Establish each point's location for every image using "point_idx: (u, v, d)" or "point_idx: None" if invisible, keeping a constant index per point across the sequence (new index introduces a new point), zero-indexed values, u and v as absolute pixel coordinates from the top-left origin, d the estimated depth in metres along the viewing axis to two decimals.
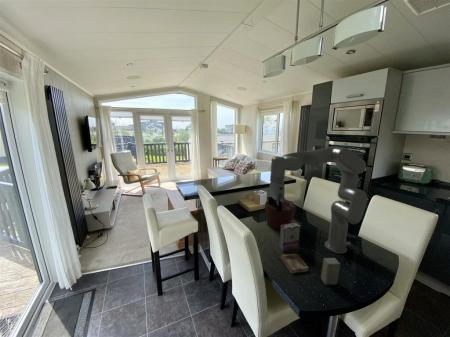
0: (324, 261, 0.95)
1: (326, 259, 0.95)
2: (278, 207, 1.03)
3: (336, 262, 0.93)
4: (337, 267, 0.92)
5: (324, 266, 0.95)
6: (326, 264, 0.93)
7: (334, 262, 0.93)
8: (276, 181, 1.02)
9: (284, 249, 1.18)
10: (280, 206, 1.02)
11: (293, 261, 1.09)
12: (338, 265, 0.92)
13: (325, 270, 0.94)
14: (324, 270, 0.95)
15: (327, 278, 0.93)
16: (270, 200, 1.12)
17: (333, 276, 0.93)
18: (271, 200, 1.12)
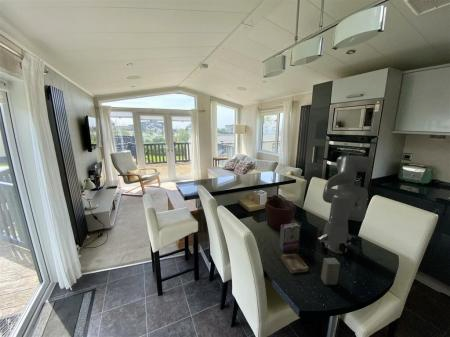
0: (324, 261, 0.95)
1: (326, 259, 0.95)
2: None
3: (336, 262, 0.93)
4: (337, 267, 0.92)
5: (324, 266, 0.95)
6: (326, 264, 0.93)
7: (334, 262, 0.93)
8: None
9: (284, 249, 1.18)
10: None
11: (293, 261, 1.09)
12: (338, 265, 0.92)
13: (325, 270, 0.94)
14: (324, 270, 0.95)
15: (327, 278, 0.93)
16: None
17: (333, 276, 0.93)
18: None
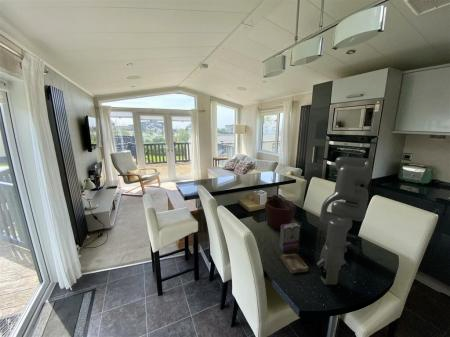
0: None
1: None
2: None
3: None
4: (337, 267, 0.92)
5: (324, 266, 0.95)
6: None
7: None
8: None
9: (284, 249, 1.18)
10: None
11: (293, 261, 1.09)
12: (338, 265, 0.92)
13: None
14: None
15: (327, 278, 0.93)
16: None
17: (333, 275, 0.93)
18: None
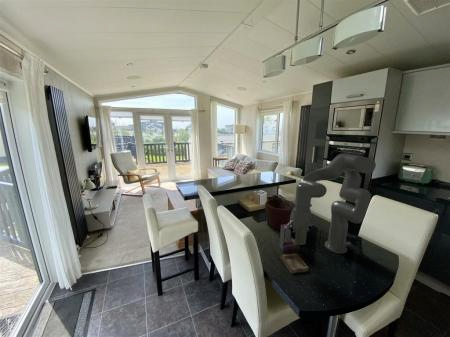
0: None
1: None
2: (307, 233, 1.03)
3: None
4: (305, 228, 1.00)
5: None
6: None
7: None
8: (309, 208, 0.98)
9: (284, 249, 1.18)
10: None
11: (293, 261, 1.09)
12: (306, 226, 1.00)
13: None
14: None
15: (296, 239, 1.01)
16: None
17: (301, 236, 1.01)
18: None
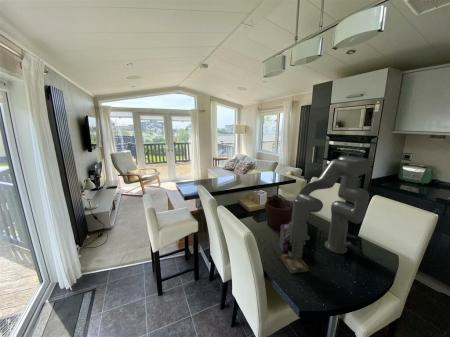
0: None
1: None
2: (303, 246, 1.05)
3: None
4: (301, 241, 1.02)
5: (290, 241, 1.05)
6: None
7: None
8: (306, 223, 1.01)
9: (284, 249, 1.18)
10: None
11: (293, 261, 1.09)
12: (302, 239, 1.02)
13: None
14: None
15: (293, 252, 1.03)
16: None
17: (298, 249, 1.03)
18: None
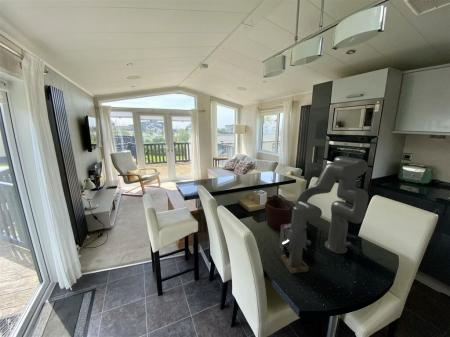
0: None
1: None
2: None
3: None
4: (300, 250, 1.04)
5: (290, 250, 1.06)
6: None
7: None
8: (305, 230, 1.02)
9: (284, 249, 1.18)
10: None
11: None
12: (301, 248, 1.03)
13: (290, 253, 1.05)
14: (290, 253, 1.06)
15: (292, 260, 1.05)
16: None
17: (297, 258, 1.05)
18: None
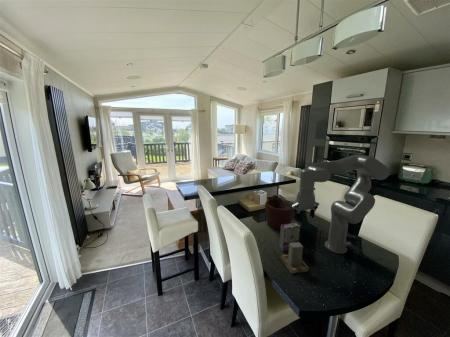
0: (290, 245, 1.06)
1: (291, 243, 1.06)
2: None
3: (300, 245, 1.04)
4: (300, 250, 1.04)
5: (290, 250, 1.06)
6: (291, 248, 1.04)
7: (298, 246, 1.04)
8: (313, 191, 1.07)
9: (284, 249, 1.18)
10: None
11: None
12: (301, 248, 1.03)
13: (290, 253, 1.05)
14: (290, 253, 1.06)
15: (292, 260, 1.05)
16: None
17: (297, 258, 1.05)
18: None
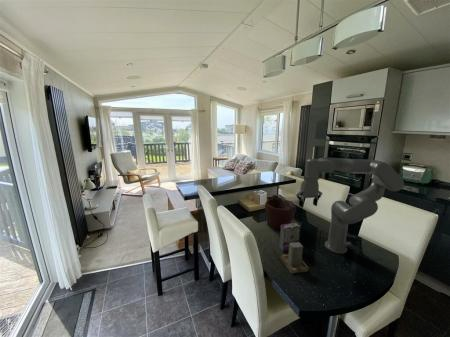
0: (290, 245, 1.06)
1: (291, 243, 1.06)
2: None
3: (300, 245, 1.04)
4: (300, 250, 1.04)
5: (290, 250, 1.06)
6: (291, 248, 1.04)
7: (298, 246, 1.04)
8: (317, 180, 1.14)
9: (284, 249, 1.18)
10: None
11: None
12: (301, 248, 1.03)
13: (290, 253, 1.05)
14: (290, 253, 1.06)
15: (292, 260, 1.05)
16: None
17: (297, 258, 1.05)
18: None
